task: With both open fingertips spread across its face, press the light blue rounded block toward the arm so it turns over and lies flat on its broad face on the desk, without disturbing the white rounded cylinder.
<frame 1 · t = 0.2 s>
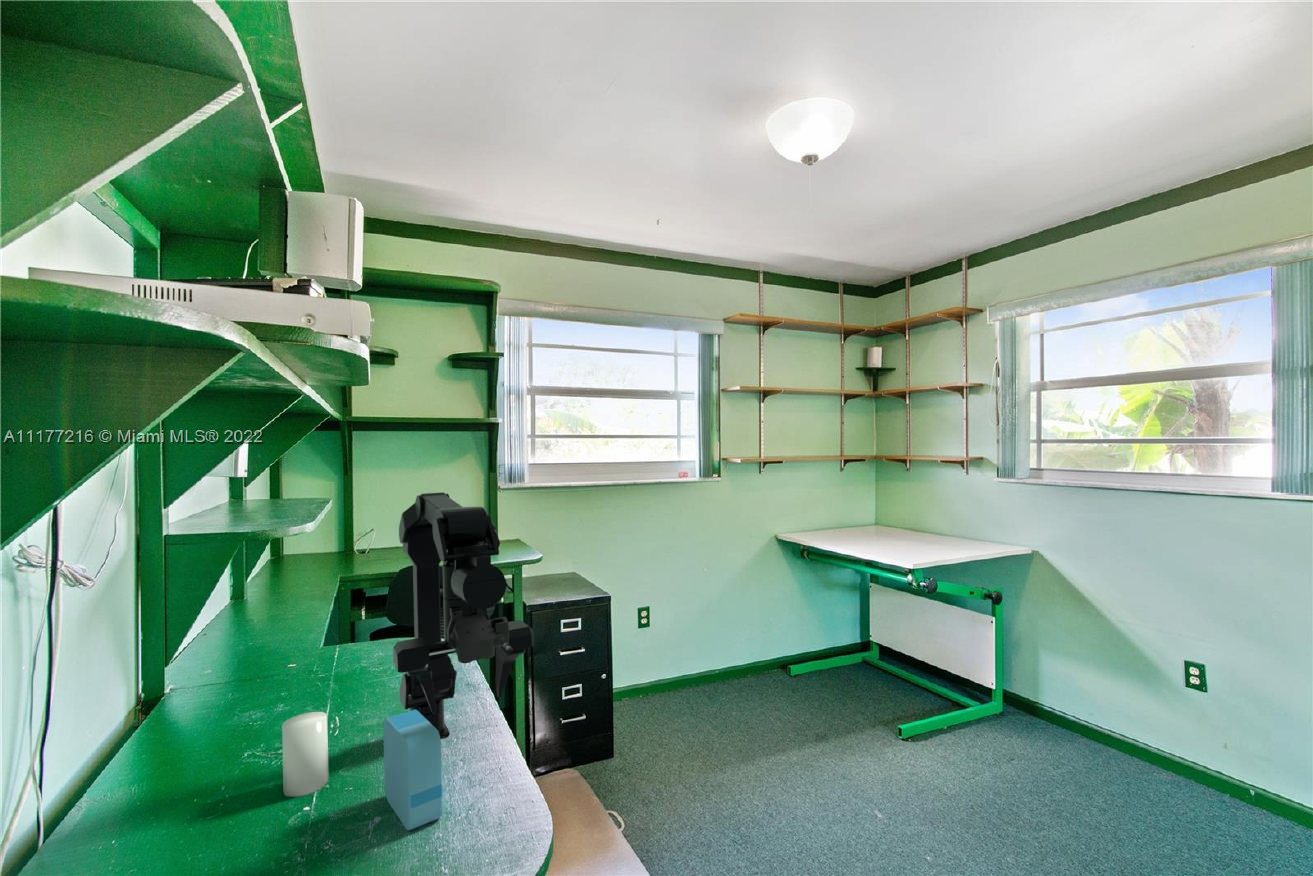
hand: (467, 704, 85), 14 cm above the table, tool pointing down, fingers open, 9 cm apart
light blue rounded block: (413, 810, 84), on the table
white rounded cylinder: (306, 785, 91), on the table
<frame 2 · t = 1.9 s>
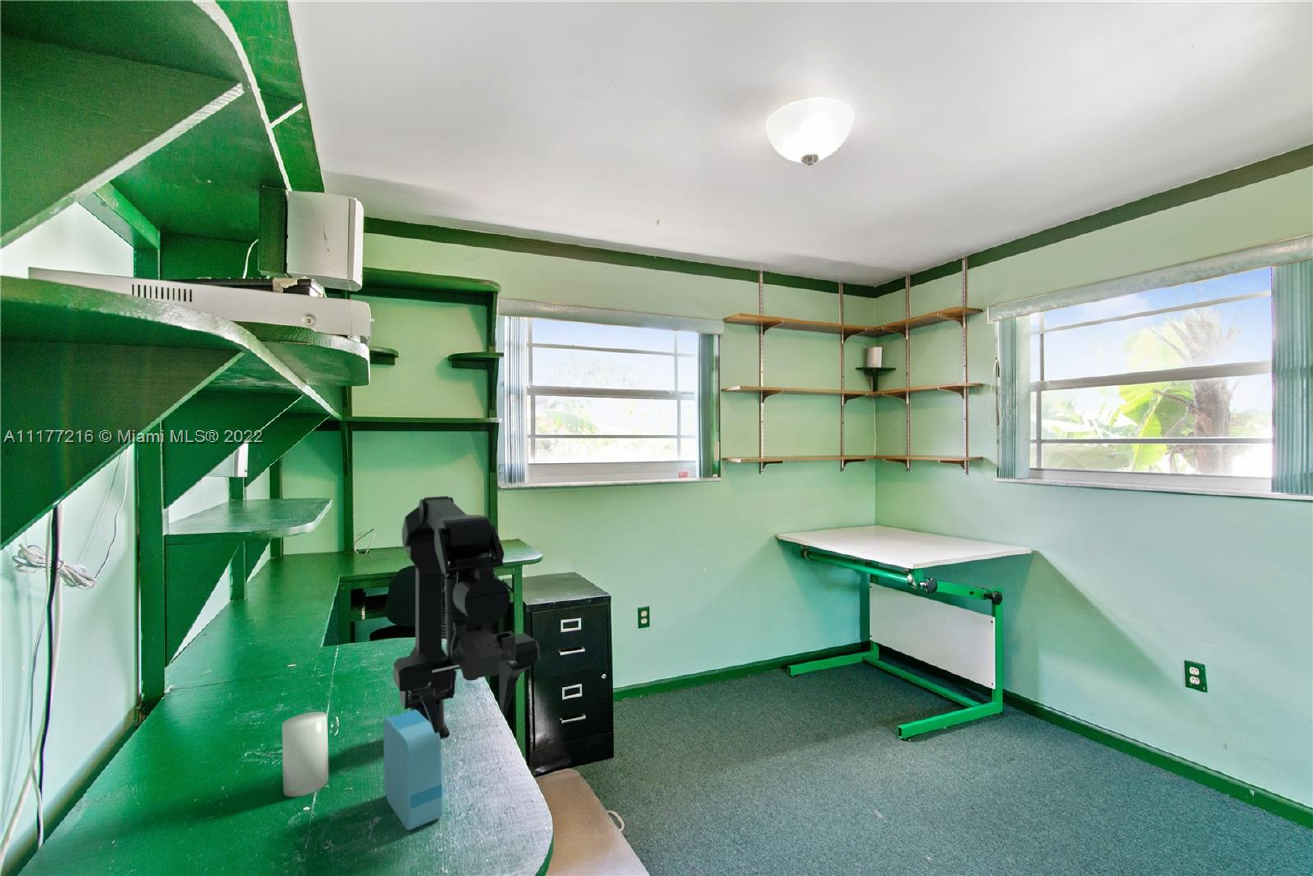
hand: (470, 723, 81), 13 cm above the table, tool pointing down, fingers open, 9 cm apart
nothing on the table moved.
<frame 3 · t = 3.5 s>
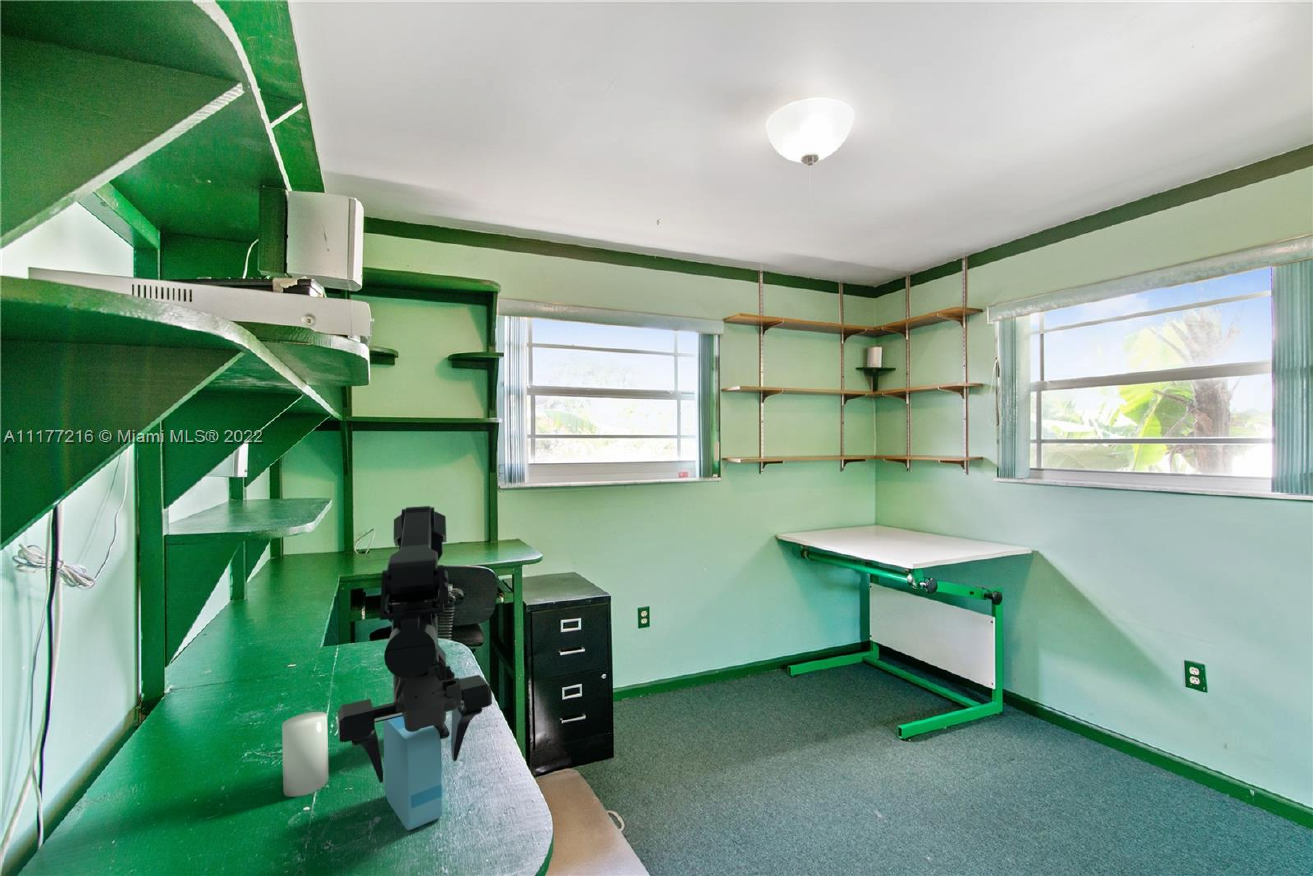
hand: (418, 770, 79), 8 cm above the table, tool pointing down, fingers open, 9 cm apart
nothing on the table moved.
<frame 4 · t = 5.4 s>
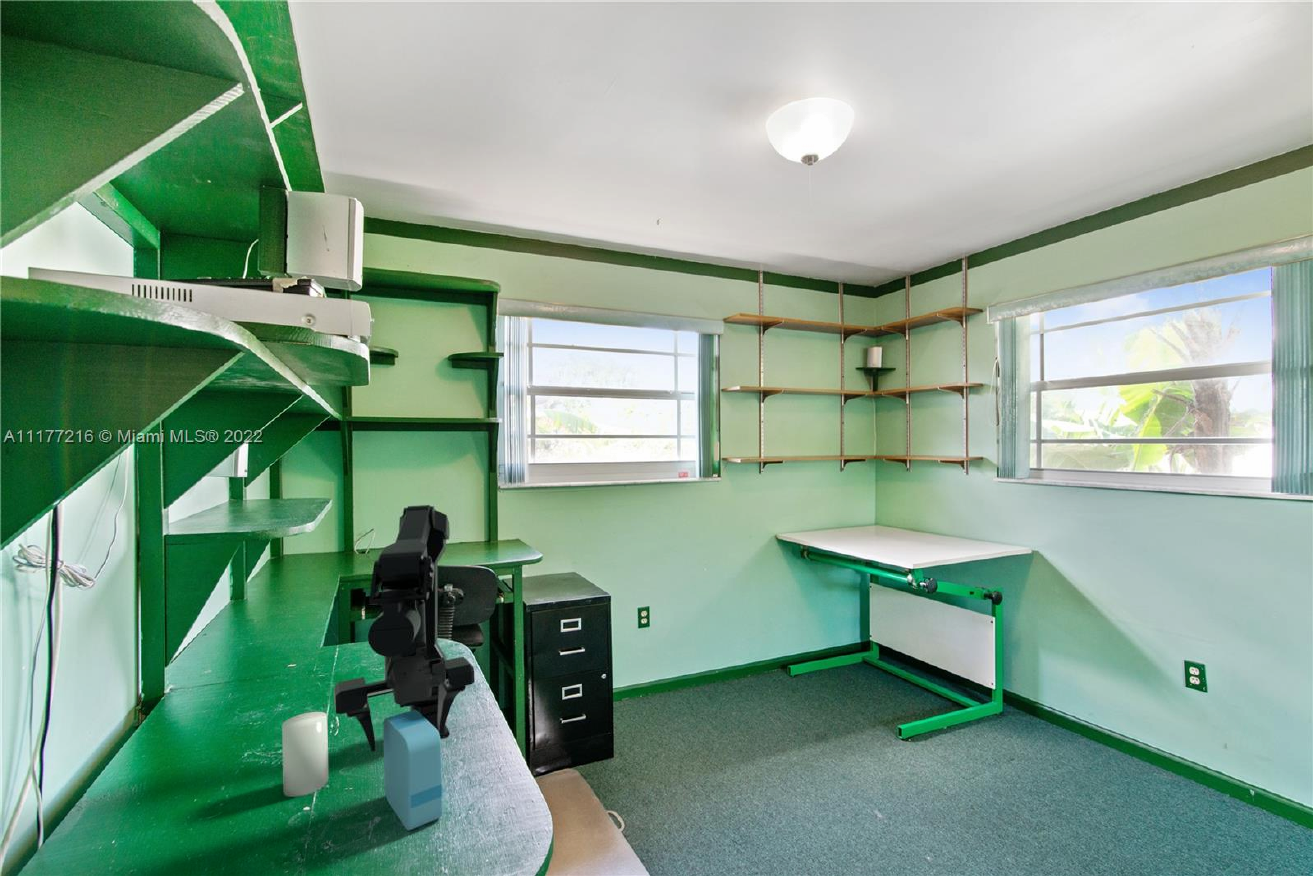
hand: (407, 741, 87), 8 cm above the table, tool pointing down, fingers open, 9 cm apart
nothing on the table moved.
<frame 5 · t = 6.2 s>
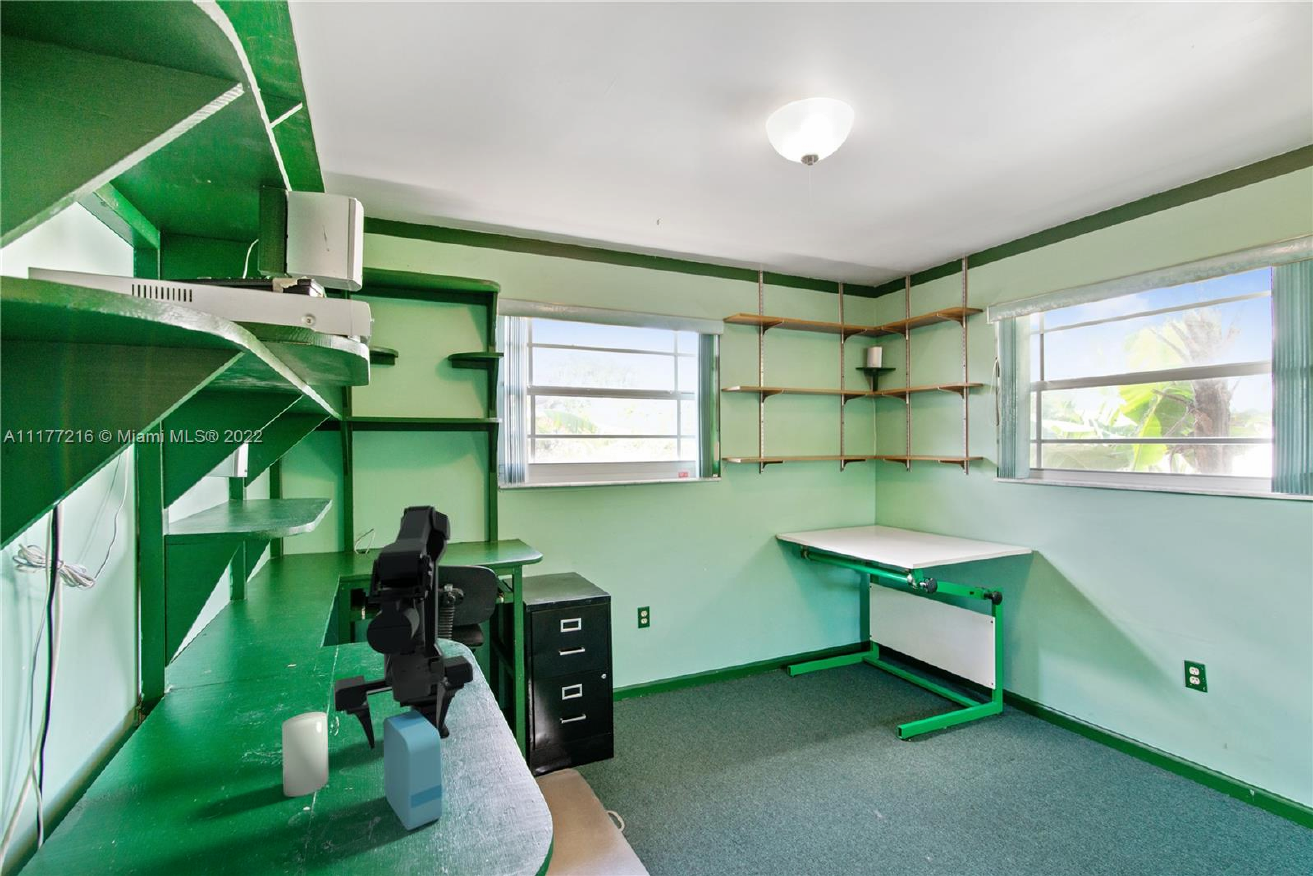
hand: (406, 739, 88), 8 cm above the table, tool pointing down, fingers open, 9 cm apart
nothing on the table moved.
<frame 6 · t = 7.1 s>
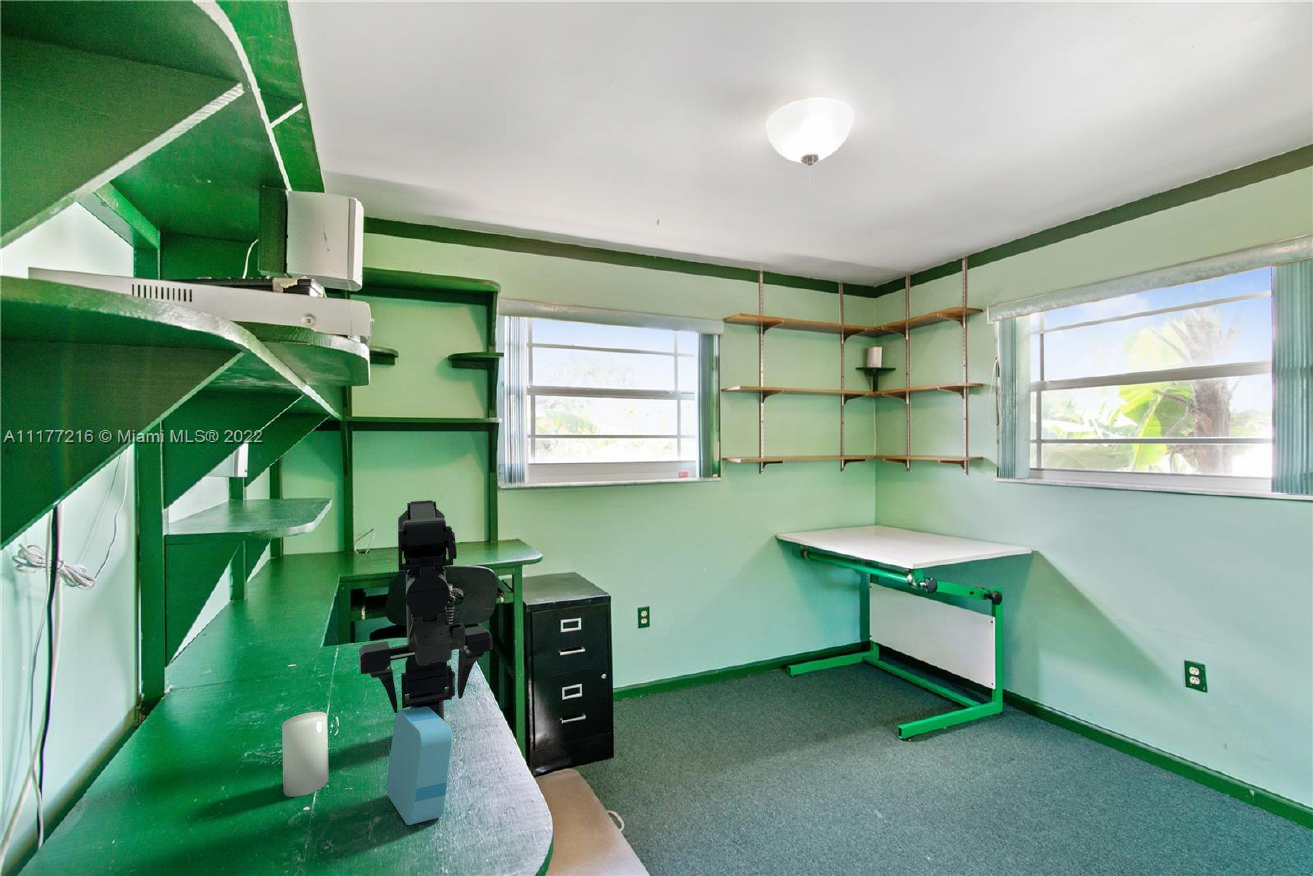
hand: (428, 704, 91), 12 cm above the table, tool pointing down, fingers open, 9 cm apart
light blue rounded block: (412, 808, 84), on the table, touching gripper
everything else where it was.
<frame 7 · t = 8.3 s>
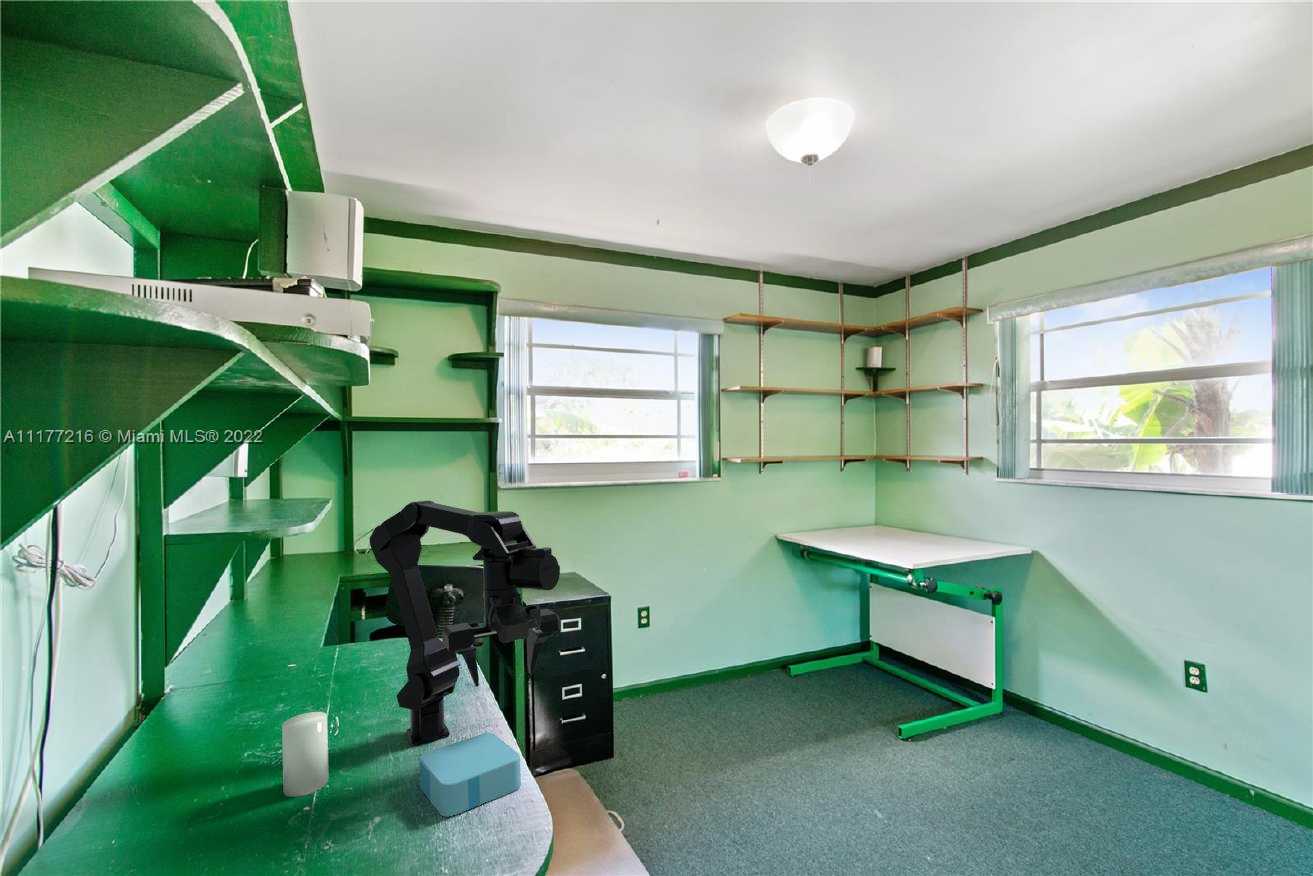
hand: (504, 679, 100), 12 cm above the table, tool pointing down, fingers open, 9 cm apart
light blue rounded block: (428, 786, 85), point 2 cm above the table
everything else where it was.
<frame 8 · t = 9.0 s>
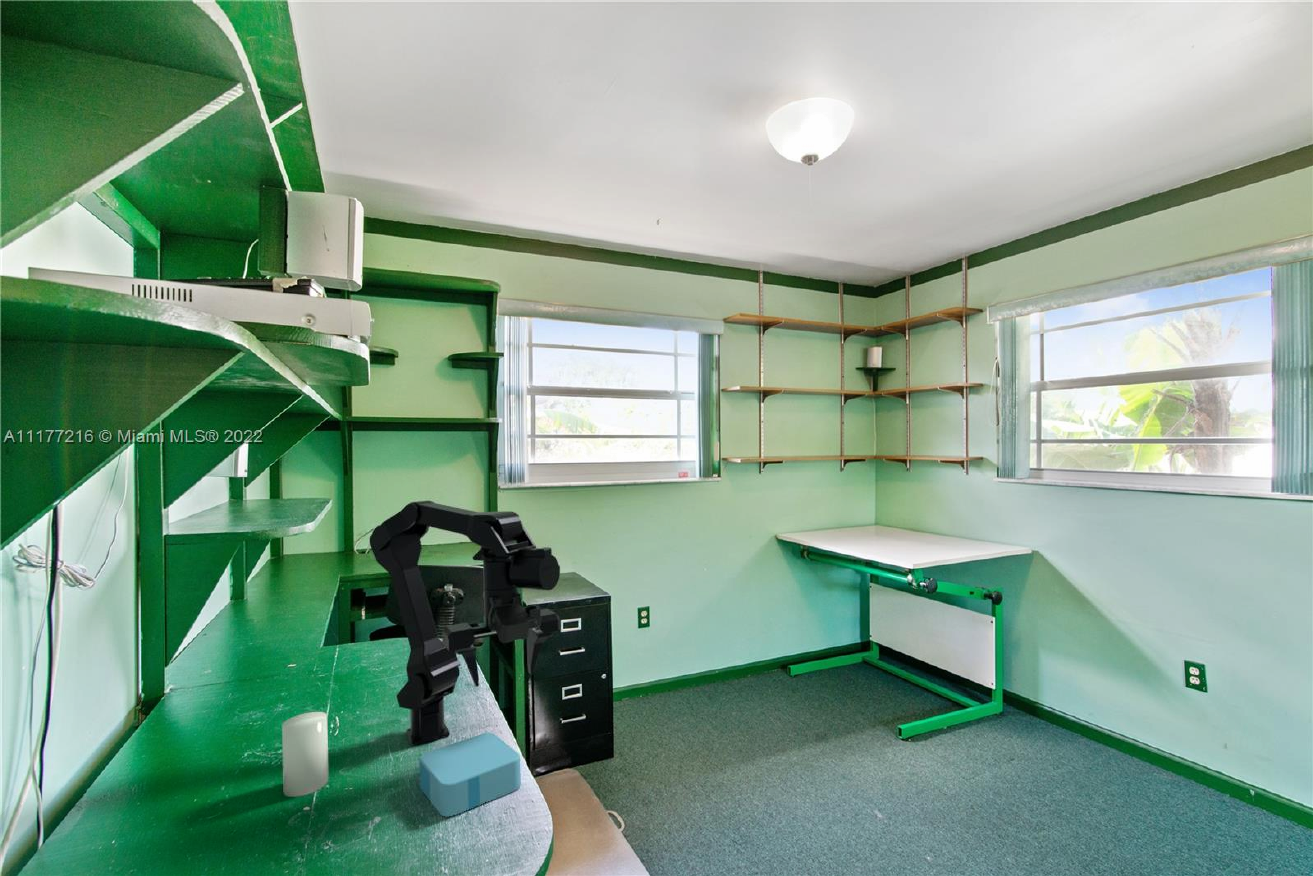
hand: (504, 679, 100), 12 cm above the table, tool pointing down, fingers open, 9 cm apart
nothing on the table moved.
at the end: light blue rounded block tilted 90°; light blue rounded block inside the target area (3.7 cm from its centre), point 2.3 cm above the table; the gripper is holding nothing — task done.
